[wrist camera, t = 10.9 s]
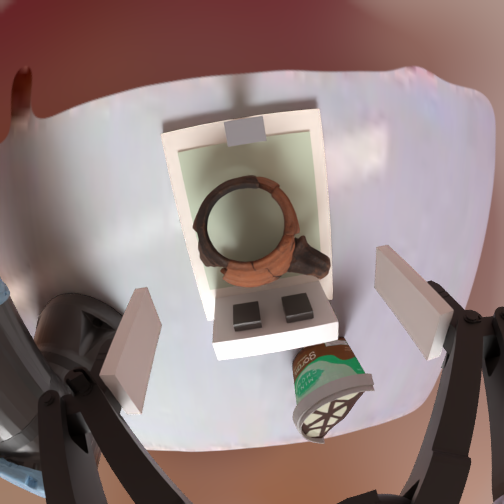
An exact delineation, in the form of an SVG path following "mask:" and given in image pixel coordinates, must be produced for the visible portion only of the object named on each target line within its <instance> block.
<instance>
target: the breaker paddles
mask: <svg viewBox="0 0 504 504" xmlns="http://www.w3.org/2000/svg"><path fill="white" fill-rule="evenodd" d="M281 300H282V306H283V310H284V314H285V318H286V322H287V323H291V322H296V321H302V320H307V319H312V318H314V315H313V309H312V306H311V304H310V301H309V299H308V296H307V294H306V293H300V294H295V295H289V296H284V297H281ZM233 326H234V330H235V332H236V331H243V330H249V329H256V328H262V324H261V317H260V310H259V304H258V301H254V302H248V303H241V304H235V305H233Z"/></svg>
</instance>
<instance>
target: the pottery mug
mask: <svg viewBox="0 0 504 504" xmlns="http://www.w3.org/2000/svg"><path fill="white" fill-rule="evenodd" d="M279 187H280V185H279V184H278V183H276V182H275V181H273V180H270V179H268V178H265V177H260V176H259V177H256V176H255V175H248V176H242V177H238V178H233V179H230V180H227V181H225V182H223V183H222V184H220V185H219V186H217V187H216V188H215V189H213V190H212V191H211V192H210V193H209V194H208V195H207V196H206V198H205V199H204V201H203V202H202V204H201V206H200V208H199V210H198V213H197V215H196V217H195V220H194V222H193V227H192V228H193V229H194V230H195V231H196V232H197V235H198V239H199V242H198V251H199V253H200V255H199V257H200V260H201V261H202V262H203V264H204V265H205V266H206V267H210V266H212V267H223V268H222V269H221V270H220V272H221V273H222V274H224V276H223V278H222V279H223V280H225V281H226V282H227V283H229V284H232V285H235V286H240V287H246V288H249V287H259V286H261V285H265V284H269V283H271V282H273V281H275V280H277V279H279V278H280V277H281V276H282V275H283V274H285V273H286V272H289V273H290V272H292V273H299V274H304V275H311V276H314V277H316V278H318V279H322V278H324V277H326V276H327V275H328V274H329V270H330V267H331V263H330V258H329V257H328V256H327V255H325V254H323V253H321V252H320V251H318V250H316V249H315V248H313V247H311V246H310V245H309V244H308V243H307V240H306V237H305V236H304V235H302V236H300V237H299V238H296V237H295V238H294V236H295V234H298V233H300V228H299V223H298V219H297V215H296V212H295V210H294V207H293V205H292V203H291V201H290V199H289V198H288V196H287V195H286V194H285V193H284V192H283V191H282V190H281V189H280V188H279ZM245 188H252V189H257V188H260V189H263V190H265V191H267V192H269V193H270V194H271V196H272V198H273V199H274V200H275V201H276V202H277V203H278V205H279V206H280V208H281V210H282V213H283V217H284V230H283V236H282V238H281V240H280V242H279V243H278V245H277V246H276V248H275V249H274V250H273V251H272V252H270V253H269V254H268V255H266V256H265V257H263V258H261V259H258V260H255V261H248V262H243V261H236V260H232V259H228V258H226V257H225V256H223V255H222V254H220V253H219V252H218V251H217V250H216V249H215V247H214V246H213V244H212V242H211V240H210V238H209V235H208V231H207V225H208V218H209V215H210V212H211V210H212V208H213V207H214V205H215V204H216V203H217V201H218V200H219V199H220V198H222V197H223V196H225V195H226V194H228V193H230V192H232V191H235V190H238V189H245Z"/></svg>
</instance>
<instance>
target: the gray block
mask: <svg viewBox="0 0 504 504" xmlns="http://www.w3.org/2000/svg"><path fill="white" fill-rule="evenodd" d="M224 127H225V133H226V138H227V144H228V147H231V146H237V145H243V144H249V143H255V142H262V141H267V140H266V133H265V127H264V120H263V116H258V117H251V118H245V119H238V120H232V121H226V122H224Z"/></svg>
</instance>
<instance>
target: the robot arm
mask: <svg viewBox="0 0 504 504" xmlns="http://www.w3.org/2000/svg"><path fill="white" fill-rule="evenodd" d="M374 288H375V289H376V290H377V292H378V293H379V294H380V296H381V297H382V298H383V300H384V301H385V302H386V304H387V305H388V306H389V308H390V309H391V310H392V312H393V313H394V314H395V316H396V317H397V319H398V320H399V321H400V323H401V324H402V325H403V327H404V328H405V330H406V331H407V333H408V334H409V335H410V337H411V338H412V340H413V341H414V343H415V344H416V345H417V347H418V348H419V350H420V351H421V353H422V354H423V356H424V357H425V359H426V360H427V361H429V360H431V359H434V358H436V357H439V356H440V354H441V351H442V348H443V347H444V349H445V350H446V351H447V353H446V356H445V359H444V361H443V364H442V367H441V368H443V370H442V375H441V379H440V384H439V388H438V392H437V396H436V400H435V404H434V408H433V411H432V415H431V418H430V422H429V425H428V428H427V431H426V434H425V437H424V440H423V443H422V446H421V449H420V452H419V454H418V457H417V460H416V462H415V465H414V468H413V470H412V472H411V475H410V477H409V479H408V481H407V483H406V484H405V486H404V488H403V489H402V491H401V493H400V495H399V496H398V495H392V494H377V491H376V490H373V491H370V492H367V493H364V494H361V495H357V496H354V497H350V498H347V499H345V500H343V501H341V502H339V503H337V504H459V502H460V499H461V496H462V493H463V490H464V487H465V484H466V480H467V477H468V473H469V470H470V465H471V458H469V457H468V453H469V448H470V444H471V440H472V434H473V430H474V425H475V419H476V413H477V406H478V399H479V392H480V382H481V371H482V372H483V377H484V383H485V389H486V396H487V403H488V411H489V421H490V433H491V450H492V494H493V502H494V503H493V504H504V307H498V308H497V309H496V310H495V313H494V315H493V316H491V317H482V316H481V315H480V314H479V313H477V312H476V311H473V310H464V309H463V308H462V307H461V306H460V305H459V304H458V303H457V302H456V301H455V300H454V299H453V298H452V297H451V296H450V295H449V294H448V293H447V292H445V290H444V289H443V288H442V287H441V286H440V285H439V284H437V283H435V282H433V281H428V282H426V281H425V280H424V279H423V278H422V277H421V276H420V275H419V274H418V273H417V272H416V271H415V270H414V269H413V268H412V267H411V266H410V265H409V264H408V263H407V262H406V261H405V260H404V259H402V258H401V257H400V256H399V255H398V254H397V253H396V252H395V251H394V250H393V249H392V248H391V247H390V246H389V245H385V246H379V247H376V270H375V286H374ZM161 327H162V324H161V322H160V319H159V317H158V314H157V312H156V309H155V306H154V304H153V301H152V299H151V296H150V293H149V291H148V288H147V287H145V288H138V289H135V290H134V293H133V295H132V297H131V299H130V301H129V304H128V306H127V308H126V310H125V313H124V315H123V317H122V316H121V315H120V314H119V313H118V312H117V311H115V310H114V309H113V308H111V307H110V306H108V305H106V304H105V303H103V302H101V301H99V300H97V299H94V298H92V297H89V296H85V295H81V294H62V295H59V296H57V297H55V298H53V299H52V300H51V301H50V302H49V303H48V304H47V305H46V307H45V308H44V309H43V311H42V312H41V314H40V316H39V318H38V321H37V327H36V332H35V336H34V340H33V338H32V336H31V335H30V333H29V331H28V329H27V328H26V326H25V324H24V322H23V320H22V319H21V317H20V315H19V313H18V311H17V309H16V307H15V305H14V303H13V301H12V299H11V297H10V291H9V289H8V287H7V286H6V284H5V283H4V282H3V281H2V279H1V277H0V477H2V478H3V479H5V480H7V481H9V482H11V483H13V484H15V485H17V486H19V487H21V488H23V489H25V490H27V491H29V492H32V493H34V494H36V495H38V496H41V497H44V498H46V503H47V504H108V503H107V500H106V497H105V494H104V491H103V487H102V484H101V481H100V477H99V473H98V465H99V461H100V456H101V452H102V453H103V455H104V457H105V458H106V460H107V462H108V463H109V465H110V467H111V468H112V470H113V472H114V473H115V475H116V476H117V477H118V479H119V481H120V482H121V484H122V485H123V487H124V488H125V490H126V491H127V492H128V494H129V495H130V497H131V498H132V500H133V501H134V502H135V504H193V503H192V502H191V501H190V500H189V499H188V498H187V497H186V496H185V495H184V494H183V493H182V492H181V490H180V489H179V488H178V487H177V486H176V485H175V484H174V483H173V482H172V481H171V479H170V478H169V477H168V476H167V475H166V474H165V472H164V471H163V470H162V469H161V468H160V467H159V465H158V464H157V463H156V462H155V460H154V459H153V458H152V457H151V456H150V454H149V453H148V452H147V450H146V449H145V448H144V446H143V445H142V444H141V443H140V441H139V440H138V438H137V437H136V436H135V434H134V433H133V432H132V430H131V429H130V427H129V426H128V425H127V423H126V422H125V420H124V419H123V417H122V416H121V415H120V411H121V407H122V408H123V410H124V411H125V412H126V414H142V410H143V405H144V400H145V395H146V391H147V386H148V381H149V377H150V372H151V368H152V364H153V359H154V355H155V351H156V347H157V343H158V339H159V335H160V331H161Z"/></svg>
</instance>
